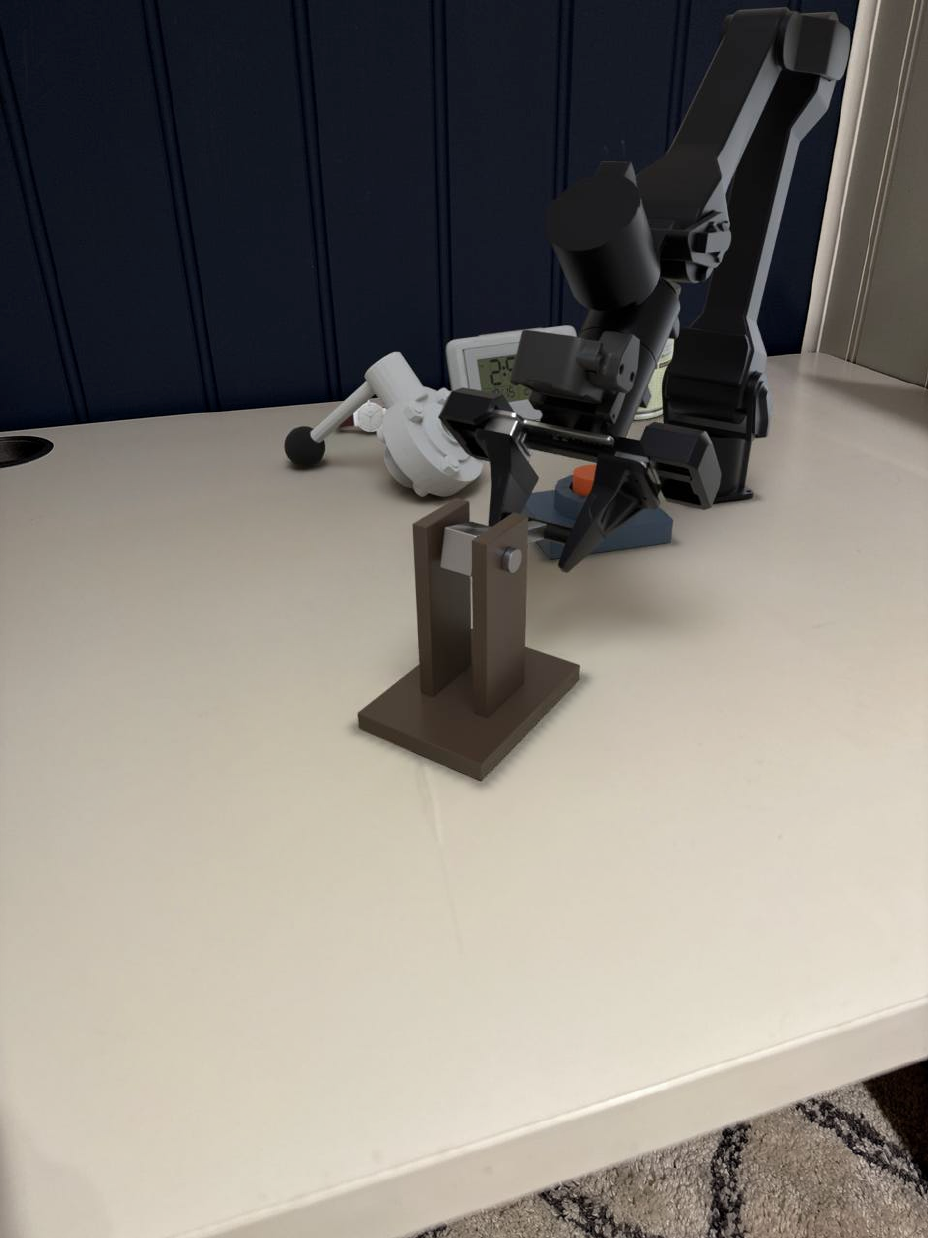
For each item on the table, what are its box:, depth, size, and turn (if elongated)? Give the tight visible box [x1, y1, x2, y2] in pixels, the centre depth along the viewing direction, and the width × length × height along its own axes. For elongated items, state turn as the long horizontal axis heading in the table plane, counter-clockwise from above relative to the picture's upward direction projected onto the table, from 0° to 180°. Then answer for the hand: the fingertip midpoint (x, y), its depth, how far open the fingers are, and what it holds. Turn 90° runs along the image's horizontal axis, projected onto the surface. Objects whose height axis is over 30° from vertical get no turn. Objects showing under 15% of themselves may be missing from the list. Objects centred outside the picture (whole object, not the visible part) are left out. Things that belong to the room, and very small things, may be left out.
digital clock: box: [445, 325, 578, 421], centre depth 100 cm, size 16×9×11 cm, turn 103°
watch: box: [337, 399, 386, 433], centre depth 103 cm, size 8×5×4 cm, turn 104°
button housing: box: [521, 474, 674, 560], centre depth 78 cm, size 11×9×4 cm
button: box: [572, 464, 596, 496], centre depth 77 cm, size 4×4×2 cm
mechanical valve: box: [283, 351, 484, 498], centre depth 89 cm, size 10×18×15 cm
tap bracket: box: [357, 497, 581, 781], centre depth 54 cm, size 12×9×13 cm
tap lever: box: [440, 512, 573, 578], centre depth 55 cm, size 10×5×2 cm, turn 146°
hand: (525, 559), depth 58 cm, fingers closed on tap lever, 5 cm apart
